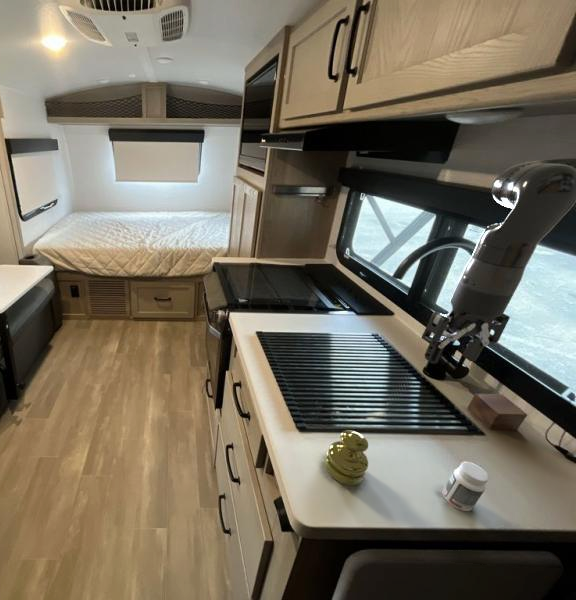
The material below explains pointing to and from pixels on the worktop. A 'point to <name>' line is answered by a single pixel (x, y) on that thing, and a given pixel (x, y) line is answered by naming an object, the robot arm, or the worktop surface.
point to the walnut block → (496, 411)
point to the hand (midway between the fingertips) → (449, 359)
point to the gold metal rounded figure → (348, 458)
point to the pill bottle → (465, 486)
